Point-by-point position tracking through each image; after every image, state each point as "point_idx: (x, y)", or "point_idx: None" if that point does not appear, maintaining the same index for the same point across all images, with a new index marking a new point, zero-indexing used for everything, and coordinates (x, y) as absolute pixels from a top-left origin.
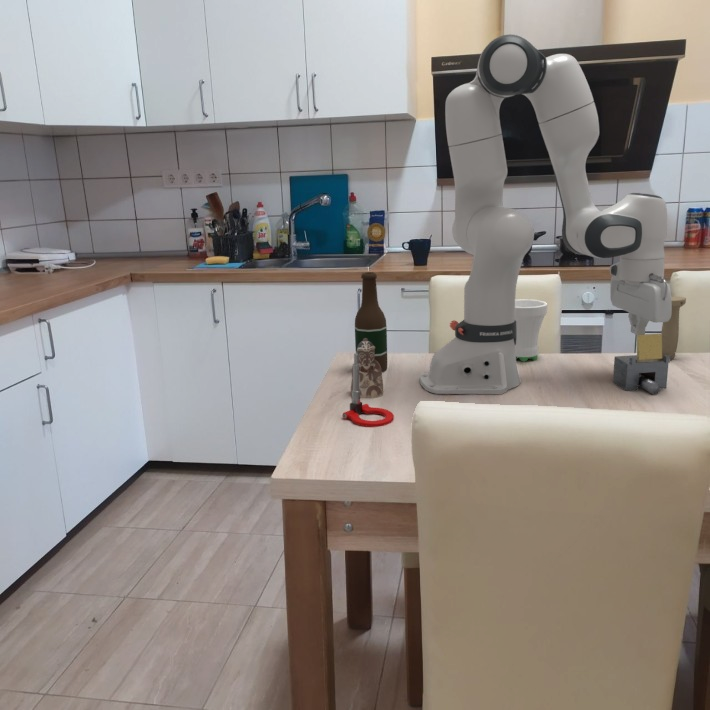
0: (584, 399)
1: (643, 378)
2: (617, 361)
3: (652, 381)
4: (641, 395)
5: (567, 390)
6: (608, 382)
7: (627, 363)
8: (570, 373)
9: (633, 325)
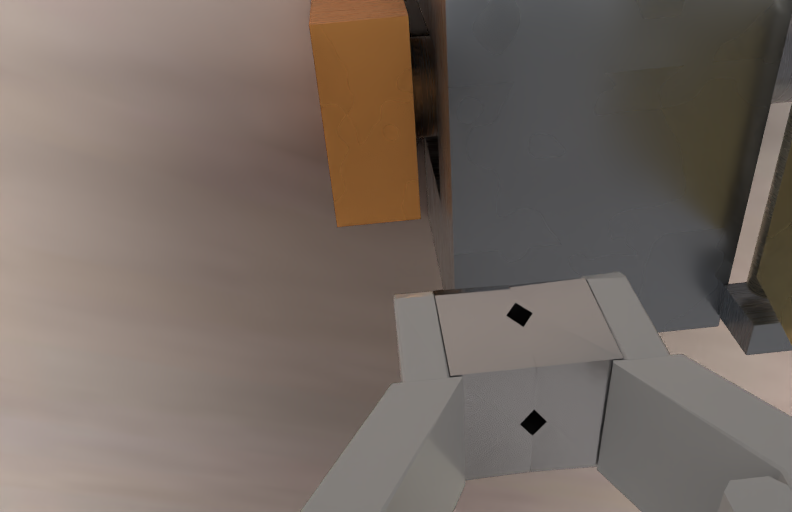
0: None
1: None
2: None
3: (782, 70)
4: None
5: None
6: (416, 239)
7: (711, 325)
8: (184, 394)
9: (468, 471)
